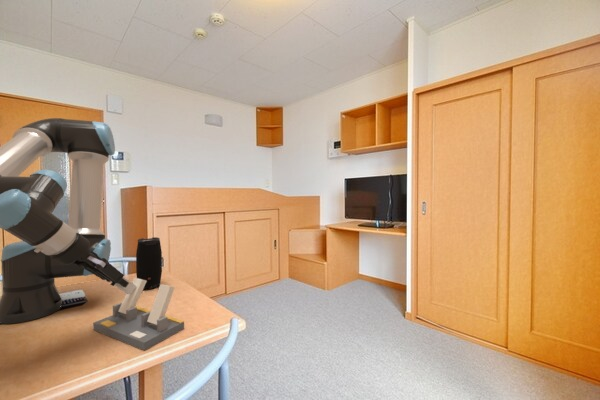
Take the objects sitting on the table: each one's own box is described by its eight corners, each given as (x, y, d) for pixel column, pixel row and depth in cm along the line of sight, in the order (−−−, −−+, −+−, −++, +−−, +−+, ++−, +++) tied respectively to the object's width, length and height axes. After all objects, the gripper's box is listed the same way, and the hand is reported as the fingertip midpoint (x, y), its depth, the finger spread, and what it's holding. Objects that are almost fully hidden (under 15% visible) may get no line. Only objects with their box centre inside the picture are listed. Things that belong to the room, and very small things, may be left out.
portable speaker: (156, 290, 106) (156, 240, 106) (131, 291, 106) (130, 241, 105) (165, 283, 115) (165, 236, 114) (142, 283, 114) (142, 237, 113)
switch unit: (93, 329, 77) (93, 311, 77) (135, 312, 88) (134, 296, 87) (144, 350, 67) (144, 329, 67) (184, 328, 78) (184, 310, 78)
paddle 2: (145, 323, 75) (159, 283, 78) (150, 323, 76) (164, 284, 80) (156, 327, 73) (171, 286, 76) (161, 327, 74) (175, 287, 78)
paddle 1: (116, 313, 80) (133, 277, 85) (121, 313, 82) (138, 278, 86) (126, 316, 78) (143, 279, 83) (131, 317, 80) (147, 280, 84)
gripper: (36, 253, 67) (109, 297, 82) (63, 260, 61) (137, 306, 76) (62, 229, 71) (127, 275, 87) (90, 233, 66) (154, 281, 81)
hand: (131, 289), depth 82 cm, fingers closed
